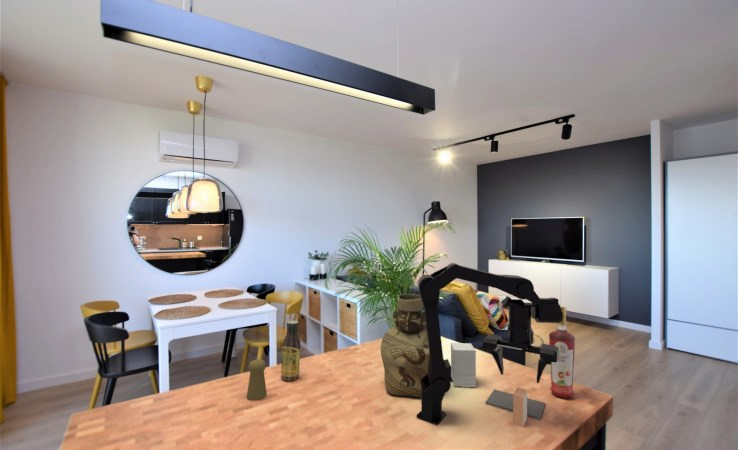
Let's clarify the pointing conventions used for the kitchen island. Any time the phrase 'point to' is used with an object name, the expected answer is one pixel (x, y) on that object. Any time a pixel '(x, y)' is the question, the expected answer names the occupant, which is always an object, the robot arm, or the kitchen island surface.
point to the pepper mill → (256, 380)
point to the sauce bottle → (291, 353)
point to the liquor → (562, 360)
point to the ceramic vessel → (406, 348)
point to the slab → (520, 407)
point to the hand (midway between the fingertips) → (519, 378)
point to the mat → (506, 402)
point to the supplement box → (463, 364)
